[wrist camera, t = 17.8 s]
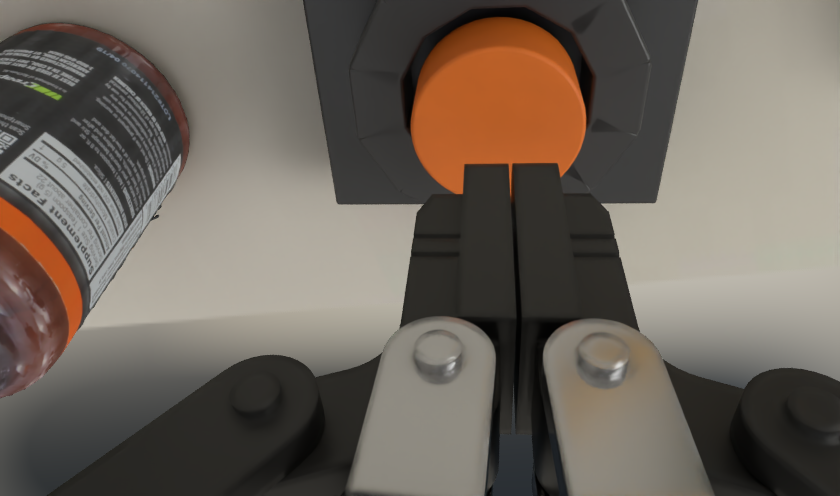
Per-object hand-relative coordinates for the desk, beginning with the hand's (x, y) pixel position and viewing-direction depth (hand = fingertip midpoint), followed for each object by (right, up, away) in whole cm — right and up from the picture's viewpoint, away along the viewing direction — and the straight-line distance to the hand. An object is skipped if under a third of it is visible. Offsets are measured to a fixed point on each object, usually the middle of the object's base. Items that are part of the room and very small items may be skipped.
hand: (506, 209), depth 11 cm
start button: (0, +3, +4) cm, 5 cm away
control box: (+1, +5, +7) cm, 8 cm away
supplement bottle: (-11, +4, +9) cm, 15 cm away
